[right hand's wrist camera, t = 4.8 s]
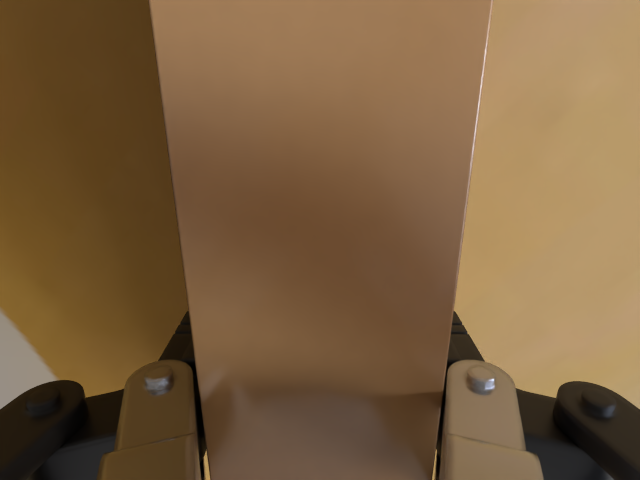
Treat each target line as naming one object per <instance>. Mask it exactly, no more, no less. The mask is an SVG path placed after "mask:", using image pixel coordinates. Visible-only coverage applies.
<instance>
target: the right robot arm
mask: <svg viewBox="0 0 640 480" xmlns="http://www.w3.org/2000/svg"><path fill="white" fill-rule="evenodd" d="M436 449H437V455H436V463H435V474H434V480H640V409H638V408H637V407H636V406H634V405H633V404H632V403H630V402H629V401H627V400H626V399H625V398H623V397H622V396H620V395H619V394H617V393H615V392H613V391H612V390H609V389H607V388H605V387H602V386H600V385H596V384H593V383H588V382H581V381H573V382H568V383H565V384H563V385H561V386H560V388H559V390H558V393H557V397H556V398H553V397H548V396H544V395H539V394H534V393H530V392H526V391H522V390H520V389H517V388H515V384H514V382H513V380H512V378H511V377H510V376H509V375H508V374H507V373H506V372H505V371H503V370H502V369H500V368H499V367H497V366H495V365H492V364H490V363H487V362H485V361H484V359H483V358H482V356H481V354H480V353H479V351H478V349H477V347H476V346H475V344H474V342H473V341H472V339H471V337H470V336H469V334H467V331H466V329H465V327H464V326H463V325H462V322H461V320H460V319H459V317H458V315H457V314H456V312H455V311H454V312H453V319H452V327H451V335H450V343H449V350H448V358H447V366H446V374H445V382H444V389H443V397H442V405H441V413H440V420H439V428H438V436H437V444H436ZM205 452H206V441H205V433H204V425H203V418H202V410H201V402H200V395H199V387H198V379H197V371H196V364H195V356H194V348H193V340H192V333H191V325H190V317H189V311H187V312H186V314H185V316H184V318H183V319H182V321H181V324H180V325H179V326H178V328H177V330H176V331H175V334H174V335H173V336H172V338H171V340H170V341H169V343H168V345H167V347H166V348H165V350H164V352H163V353H162V355H161V357H160V359H159V360H158V361H157V362H153V363H150V364H148V365H145V366H143V367H141V368H140V369H138V370H137V371H135V372H134V373H133V374H132V375H131V376H130V377H129V378H128V380H127V382H126V384H125V388H124V389H122V390H119V391H115V392H110V393H106V394H101V395H97V396H92V397H87V398H85V394H84V390H83V387H82V386H81V385H80V384H79V383H77V382H74V381H69V380H59V381H53V382H48V383H45V384H42V385H39V386H36V387H34V388H32V389H30V390H28V391H26V392H24V393H23V394H21V395H20V396H18V397H17V398H15V399H14V400H13V401H11V402H10V403H9V404H7V405H6V406H4V407H3V408H2V409H0V480H206V474H205V463H204V455H205Z"/></svg>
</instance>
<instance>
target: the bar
mask: <svg viewBox="0 0 640 480" xmlns="http://www.w3.org/2000/svg"><path fill="white" fill-rule="evenodd" d="M493 1H494V0H149V8H150V16H151V24H152V31H153V39H154V47H155V55H156V62H157V70H158V78H159V85H160V93H161V101H162V109H163V116H164V124H165V132H166V140H167V147H168V155H169V163H170V170H171V178H172V186H173V194H174V201H175V209H176V217H177V225H178V232H179V240H180V248H181V255H182V263H183V271H184V279H185V286H186V294H187V302H188V310H189V317H190V325H191V333H192V340H193V348H194V356H195V364H196V371H197V379H198V387H199V395H200V402H201V410H202V418H203V425H204V433H205V441H206V449H207V456H208V464H209V472H210V480H432V475H433V467H434V459H435V451H436V444H437V436H438V428H439V420H440V413H441V405H442V397H443V389H444V382H445V374H446V366H447V358H448V350H449V343H450V335H451V327H452V319H453V312H454V304H455V296H456V288H457V280H458V273H459V265H460V257H461V249H462V242H463V234H464V226H465V218H466V210H467V203H468V195H469V187H470V179H471V172H472V164H473V156H474V148H475V140H476V133H477V125H478V117H479V109H480V102H481V94H482V86H483V78H484V71H485V63H486V55H487V47H488V39H489V32H490V24H491V16H492V8H493Z"/></svg>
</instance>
